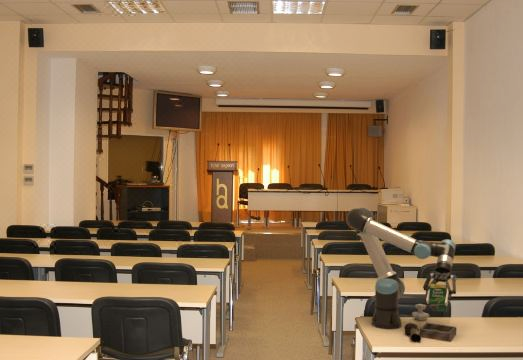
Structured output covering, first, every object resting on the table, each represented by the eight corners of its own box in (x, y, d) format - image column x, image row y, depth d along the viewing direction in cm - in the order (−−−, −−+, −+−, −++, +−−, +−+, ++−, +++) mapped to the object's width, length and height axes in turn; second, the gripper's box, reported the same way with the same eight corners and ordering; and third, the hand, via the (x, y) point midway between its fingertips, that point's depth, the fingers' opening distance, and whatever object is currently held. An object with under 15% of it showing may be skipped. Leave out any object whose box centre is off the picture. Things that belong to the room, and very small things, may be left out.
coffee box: (428, 310, 245) (429, 284, 245) (430, 309, 247) (430, 283, 248) (446, 313, 241) (446, 285, 241) (447, 311, 243) (447, 285, 244)
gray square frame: (419, 336, 241) (419, 328, 241) (426, 329, 254) (426, 322, 254) (450, 341, 234) (450, 333, 234) (456, 334, 246) (456, 326, 246)
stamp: (422, 317, 279) (422, 302, 279) (430, 320, 273) (431, 305, 273) (409, 319, 275) (409, 303, 275) (418, 322, 269) (418, 306, 269)
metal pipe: (421, 343, 232) (421, 331, 232) (406, 342, 233) (406, 330, 233) (417, 332, 249) (417, 321, 249) (403, 331, 250) (403, 320, 251)
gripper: (466, 272, 252) (460, 310, 238) (424, 268, 263) (416, 304, 249) (464, 263, 248) (458, 301, 234) (422, 259, 259) (413, 295, 245)
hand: (436, 303), depth 241 cm, fingers closed on coffee box, 8 cm apart
